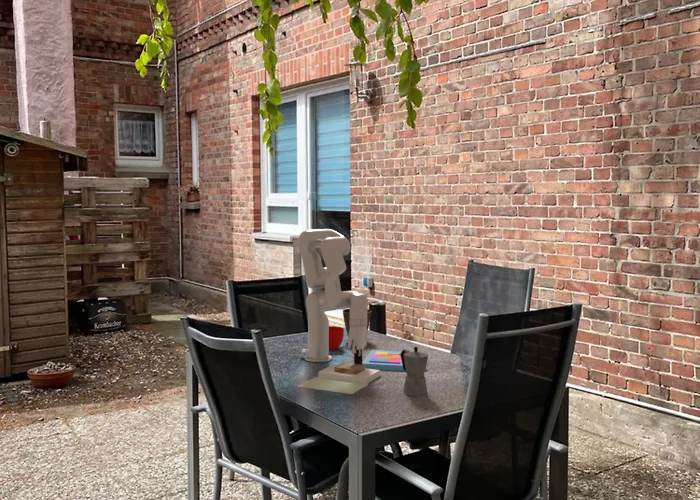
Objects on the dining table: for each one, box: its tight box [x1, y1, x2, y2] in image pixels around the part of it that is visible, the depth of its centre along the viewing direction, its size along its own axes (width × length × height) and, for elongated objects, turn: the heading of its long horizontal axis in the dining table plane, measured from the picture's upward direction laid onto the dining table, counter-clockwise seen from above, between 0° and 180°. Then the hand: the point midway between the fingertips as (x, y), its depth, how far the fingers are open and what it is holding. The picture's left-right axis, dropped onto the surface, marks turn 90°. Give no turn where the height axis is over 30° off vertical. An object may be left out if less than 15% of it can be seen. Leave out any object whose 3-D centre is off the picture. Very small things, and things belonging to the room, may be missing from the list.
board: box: [317, 364, 381, 384], centre depth 292 cm, size 22×14×2 cm, turn 65°
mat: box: [296, 376, 370, 395], centre depth 279 cm, size 24×16×1 cm, turn 65°
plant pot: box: [342, 308, 372, 338], centre depth 364 cm, size 15×15×16 cm
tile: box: [334, 362, 365, 374], centre depth 292 cm, size 10×9×2 cm
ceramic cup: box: [329, 325, 345, 351], centre depth 347 cm, size 13×17×10 cm
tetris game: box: [362, 349, 406, 372], centre depth 317 cm, size 28×3×28 cm
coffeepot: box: [401, 346, 429, 397], centre depth 269 cm, size 15×9×18 cm, turn 35°
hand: (358, 364), depth 300 cm, fingers closed
